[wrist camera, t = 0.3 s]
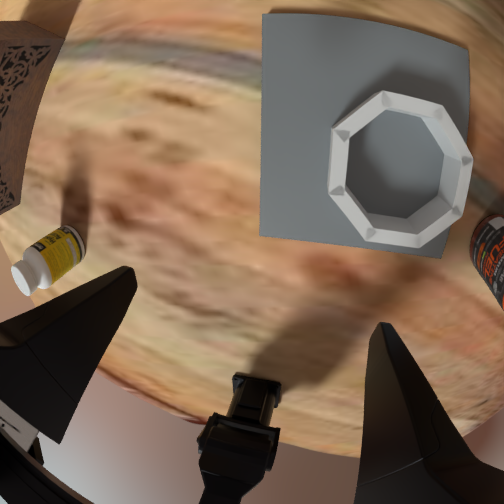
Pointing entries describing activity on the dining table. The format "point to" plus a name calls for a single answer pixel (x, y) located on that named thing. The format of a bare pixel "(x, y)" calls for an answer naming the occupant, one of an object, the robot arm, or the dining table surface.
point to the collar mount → (362, 134)
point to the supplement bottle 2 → (490, 254)
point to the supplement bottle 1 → (48, 260)
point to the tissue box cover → (21, 98)
